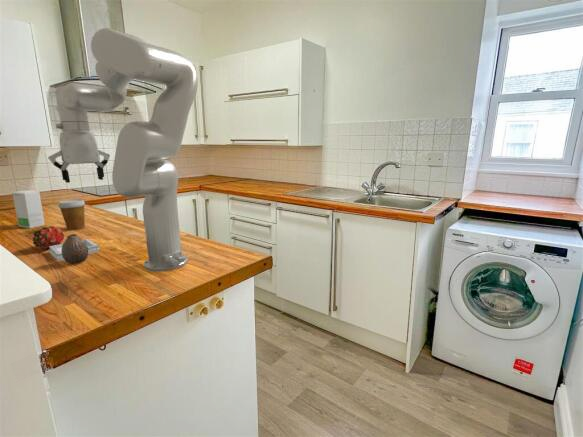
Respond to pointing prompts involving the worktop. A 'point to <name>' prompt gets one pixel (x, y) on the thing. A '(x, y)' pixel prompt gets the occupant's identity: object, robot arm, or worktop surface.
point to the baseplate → (56, 249)
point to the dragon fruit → (48, 237)
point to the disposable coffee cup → (73, 213)
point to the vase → (74, 249)
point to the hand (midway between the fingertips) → (84, 180)
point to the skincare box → (28, 208)
